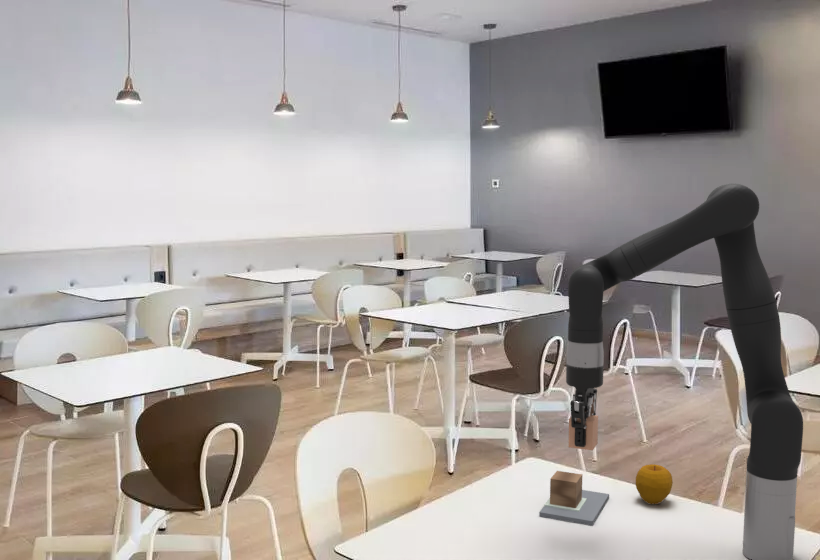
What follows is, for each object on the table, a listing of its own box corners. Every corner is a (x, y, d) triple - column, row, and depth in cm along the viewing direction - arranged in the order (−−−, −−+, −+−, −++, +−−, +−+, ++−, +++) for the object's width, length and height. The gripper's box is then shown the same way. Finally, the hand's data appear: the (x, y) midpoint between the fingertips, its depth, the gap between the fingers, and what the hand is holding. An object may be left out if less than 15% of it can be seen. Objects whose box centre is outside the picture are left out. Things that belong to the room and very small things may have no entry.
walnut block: (581, 499, 189) (582, 474, 188) (575, 508, 184) (576, 482, 183) (556, 495, 192) (557, 470, 191) (549, 504, 186) (550, 478, 185)
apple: (677, 509, 187) (679, 472, 186) (640, 509, 187) (641, 471, 186) (665, 495, 195) (667, 459, 194) (630, 495, 195) (631, 459, 194)
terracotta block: (597, 443, 170) (598, 415, 170) (592, 450, 166) (593, 421, 165) (574, 440, 172) (574, 413, 172) (568, 447, 168) (568, 419, 167)
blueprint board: (609, 498, 193) (609, 492, 193) (592, 525, 177) (592, 519, 177) (559, 490, 198) (559, 485, 198) (539, 516, 182) (539, 510, 182)
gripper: (595, 370, 159) (593, 454, 161) (610, 357, 172) (608, 435, 174) (558, 367, 163) (556, 450, 164) (575, 354, 175) (573, 431, 177)
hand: (583, 442), depth 169 cm, fingers closed on terracotta block, 5 cm apart
